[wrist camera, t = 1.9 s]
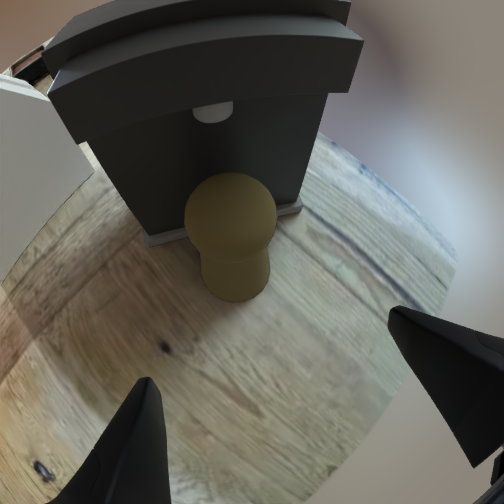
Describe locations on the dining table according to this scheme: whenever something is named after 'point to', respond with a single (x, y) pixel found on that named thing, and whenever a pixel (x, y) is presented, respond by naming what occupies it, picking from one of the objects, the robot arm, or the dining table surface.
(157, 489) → the robot arm
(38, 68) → the square planter box
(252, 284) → the cork
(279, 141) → the coffee maker
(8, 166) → the white house shaped block
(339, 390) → the dining table surface
